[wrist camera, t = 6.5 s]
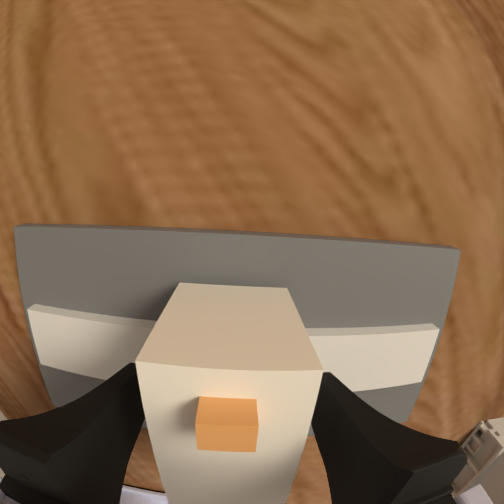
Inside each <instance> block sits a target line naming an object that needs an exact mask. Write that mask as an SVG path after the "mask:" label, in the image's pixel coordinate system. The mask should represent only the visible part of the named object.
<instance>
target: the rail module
mask: <svg viewBox="0 0 504 504" xmlns="http://www.w3.org/2000/svg"><path fill="white" fill-rule="evenodd" d="M135 363H136V370H137V376H138V382H139V388H140V393H141V399H142V404H143V409H144V414H145V418H146V423H147V427H148V432H149V436H150V440H151V444H152V448H153V452H154V456H155V460H156V463H157V467H158V471H159V474H160V477H161V481H162V484H163V487H164V491H165V494H166V497H167V500H168V503H169V504H286V502H287V499H288V496H289V493H290V490H291V487H292V484H293V481H294V478H295V475H296V472H297V469H298V466H299V462H300V459H301V456H302V452H303V449H304V445H305V442H306V438H307V435H308V431H309V428H310V424H311V420H312V416H313V412H314V408H315V404H316V400H317V396H318V392H319V388H320V383H321V379H322V375H323V367H322V365H321V363H320V361H319V358H318V356H317V354H316V351H315V349H314V347H313V345H312V342H311V340H310V338H309V336H308V333H307V331H306V329H305V327H304V324H303V322H302V320H301V318H300V315H299V313H298V311H297V309H296V306H295V304H294V302H293V300H292V298H291V295H290V293H289V291H288V289H287V288H276V287H252V286H231V285H213V284H196V283H179V284H178V286H177V288H176V290H175V291H174V293H173V295H172V296H171V298H170V300H169V301H168V303H167V305H166V307H165V308H164V310H163V312H162V314H161V315H160V317H159V319H158V321H157V322H156V324H155V326H154V328H153V329H152V331H151V333H150V335H149V336H148V338H147V340H146V342H145V344H144V345H143V347H142V349H141V351H140V353H139V355H138V356H137V358H136V360H135Z"/></svg>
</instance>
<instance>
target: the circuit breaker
mask: <svg viewBox="0 0 504 504" xmlns="http://www.w3.org/2000/svg"><path fill="white" fill-rule="evenodd" d="M479 429H481V430H480V431H479V432H477V431H478V430H479ZM461 447H462V449H463V450H464V452H465V453H466V454H467V457H468V459H467V462H466V465H465V466H464V468H463V469H462V471H461V472H460V473H459V475H458V476H457V477H456V478H455V479H454V481H453V482H454V485H452V484H451V485H452V487H453V489H454V491H453V492H452V495H453V496H454V498H455V497H456V496H457V495H459V494H460V493H462V492H464V491H466V490H468V489H470V488H472V487H474V486H476V485H477V484H481V486H482V487H483V489H484V490H485V492H486V493H487V495H488V496H489V498H490V499H491V501H492V502H493V504H504V417H502V418H497V419H491V420H486V422H485V423H484V422H483V421H480V422H479V424H478V425H477V426H476V428H475V429H474V430H473V432H472V433H471V434H470V436H469V437H468V438H467V439H466V441H465V442H464V443H463V444H462V445H461Z"/></svg>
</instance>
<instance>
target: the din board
mask: <svg viewBox="0 0 504 504" xmlns="http://www.w3.org/2000/svg"><path fill="white" fill-rule="evenodd" d="M14 236H15V248H16V258H17V267H18V274H19V281H20V288H21V294H22V299H23V304H24V309H25V314H26V319H27V323H28V328H29V332H30V336H31V340H32V344H33V347H34V351H35V354H36V358H37V361H38V364H39V368H40V371H41V374H42V377H43V380H44V383H45V386H46V388H47V391H48V394H49V397H50V399H51V402H52V404H53V406H56V407H61V406H64V405H66V404H68V403H70V402H72V401H74V400H76V399H78V398H80V397H82V396H83V395H85V394H87V393H88V392H90V391H91V390H93V389H94V388H96V387H97V386H99V385H100V384H102V383H103V382H105V381H106V380H107V379H109V378H110V377H111V376H113V375H114V374H115V373H117V372H118V371H119V370H121V369H122V368H123V367H125V366H126V365H127V364H129V363H130V362H131V363H135V360H136V358H137V356H138V355H139V353H140V351H141V349H142V347H143V345H144V344H145V342H146V340H147V338H148V336H149V335H150V333H151V331H152V329H153V328H154V326H155V324H156V322H157V321H158V319H159V317H160V315H161V314H162V312H163V310H164V308H165V307H166V305H167V303H168V301H169V300H170V298H171V296H172V295H173V293H174V291H175V290H176V288H177V286H178V284H179V283H196V284H213V285H231V286H252V287H276V288H287V289H288V291H289V293H290V295H291V298H292V300H293V302H294V304H295V306H296V309H297V311H298V313H299V315H300V318H301V320H302V322H303V324H304V327H305V329H306V331H307V333H308V336H309V338H310V340H311V342H312V345H313V347H314V349H315V351H316V354H317V356H318V358H319V361H320V363H321V365H322V367H323V372H331V373H332V374H333V375H334V376H335V377H337V378H338V379H339V380H340V381H341V382H342V383H343V384H344V385H345V386H346V387H348V388H349V389H350V390H351V391H352V392H353V393H355V394H356V395H357V396H358V397H359V398H361V399H362V400H363V401H364V402H366V403H367V404H368V405H370V406H371V407H373V408H374V409H375V410H377V411H378V412H380V413H381V414H383V415H385V416H387V417H388V418H390V419H392V420H394V421H395V422H397V423H402V422H407V420H408V418H409V415H410V413H411V411H412V409H413V407H414V405H415V402H416V400H417V398H418V395H419V393H420V391H421V388H422V386H423V383H424V381H425V378H426V376H427V373H428V371H429V368H430V365H431V362H432V360H433V357H434V354H435V351H436V348H437V345H438V342H439V339H440V336H441V332H442V329H443V326H444V322H445V319H446V315H447V312H448V308H449V304H450V300H451V296H452V292H453V287H454V283H455V278H456V274H457V269H458V263H459V258H460V252H461V250H460V249H457V248H455V247H452V246H445V245H434V244H422V243H410V242H398V241H386V240H373V239H359V238H346V237H331V236H316V235H301V234H285V233H268V232H250V231H231V230H211V229H190V228H166V227H140V226H109V225H70V224H22V225H18V226H14ZM141 428H146V429H148V427H147V423H146V418H145V419H144V422H143V425H142V427H141ZM307 436H315V435H314V432H313V429H312V425H311V424H310V428H309V431H308V435H307Z"/></svg>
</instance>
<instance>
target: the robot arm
mask: <svg viewBox="0 0 504 504" xmlns="http://www.w3.org/2000/svg"><path fill="white" fill-rule="evenodd" d="M144 419H145V414H144V409H143V404H142V399H141V393H140V388H139V382H138V376H137V370H136V363H131V362H130V363H129V364H127V365H126V366H125V367H123V368H122V369H121V370H119V371H118V372H117V373H115V374H114V375H113V376H111V377H110V378H109V379H107V380H106V381H105V382H103V383H102V384H100V385H99V386H97V387H96V388H94V389H93V390H91V391H90V392H88V393H87V394H85V395H83V396H82V397H80V398H78V399H76V400H74V401H72V402H70V403H68V404H66V405H64V406H61V407H59V408H56V409H53V410H51V411H48V412H45V413H42V414H38V415H35V416H30V417H26V418H20V419H13V420H4V421H1V422H0V468H1V469H2V470H3V471H4V473H5V474H6V475H5V476H4V478H3V479H2V478H1V477H0V504H169V503H168V500H167V497H166V494H165V493H160V492H154V491H148V490H143V489H138V488H134V487H129V486H125V485H123V482H124V477H125V473H126V468H127V464H128V461H129V458H130V455H131V453H132V450H133V448H134V445H135V442H136V440H137V437H138V435H139V432H140V430H141V427H142V425H143V422H144ZM311 425H312V429H313V432H314V435H315V438H316V441H317V444H318V447H319V450H320V453H321V456H322V459H323V462H324V465H325V469H326V472H327V477H328V482H329V487H330V493H331V500H332V504H493V502H492V501H491V499H490V498H489V496H488V495H487V493H486V492H485V490H484V489H483V487H482V486H481V484H477V485H476V486H474V487H472V488H470V489H468V490H466V491H464V492H462V493H460V494H459V495H457V496H456V497H455V498H454V499H453V497H452V495H451V493H452V492H453V491H454V489H453V487H452V485H451V483H452V482H453V481H454V479H455V478H456V477H457V476H458V475H459V473H460V472H461V471H462V469H463V468H464V466H465V465H466V462H467V459H468V457H467V454H466V453H465V452H464V450H463V449H462V447H461V446H460V445H459V443H458V442H457V441H452V440H447V439H442V438H437V437H434V436H430V435H427V434H424V433H421V432H418V431H415V430H413V429H410V428H408V427H406V426H404V425H401V424H399V423H397V422H395V421H394V420H392V419H390V418H388V417H387V416H385V415H383V414H381V413H380V412H378V411H377V410H375V409H374V408H373V407H371V406H370V405H368V404H367V403H366V402H364V401H363V400H362V399H361V398H359V397H358V396H357V395H356V394H355V393H353V392H352V391H351V390H350V389H349V388H348V387H346V386H345V385H344V384H343V383H342V382H341V381H340V380H339V379H338V378H337V377H335V376H334V375H333V374H332V373H331V372H323V375H322V379H321V383H320V388H319V392H318V396H317V400H316V404H315V408H314V412H313V416H312V420H311Z"/></svg>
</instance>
